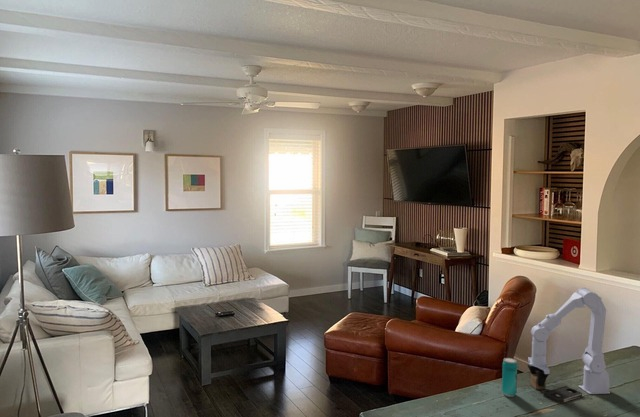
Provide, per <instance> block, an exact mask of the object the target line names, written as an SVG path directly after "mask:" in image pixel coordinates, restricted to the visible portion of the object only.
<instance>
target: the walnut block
mask: <svg viewBox="0 0 640 417" xmlns="http://www.w3.org/2000/svg"><path fill="white" fill-rule="evenodd" d="M546 382H547V380H546V381H545V384H544V386H541V387H539V386H538V378H537V374H531V373H530V386H531V387H532V388H533V389H534V390H546V388H547V387H546V385H547V383H546Z"/></svg>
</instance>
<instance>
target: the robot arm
mask: <svg viewBox="0 0 640 417" xmlns="http://www.w3.org/2000/svg"><path fill="white" fill-rule="evenodd" d="M585 305H586V306H585ZM586 307H587V308H588V309H589V310H590V311H591V312H590V313H591V315H590V323H589V331H588V332H589V333H588V343H587V346H586V347H585V350H584V352H583V354H582V356H581V360H582V363H584V366H583V379H582V382H583V383H582V385H578V387H579V389H582V390H583V391H584V392H586V393H587V394H589V395H600V394H601V395H602V394H605V395H606V394H611V392H610V374H609V372H608V371H607V370H605V369H606V367H607V366H606V365H607V364H606V362H605V355H604V351H603V343H604V332H605V324H606V315H607V308H606V306H605V304H604V303H603V300H602V297H601V296H599V295H598V293H596V292H593V291H591V290H590V289H589V288H587V287H580V288H578V289H577V290H576V291H574V292H573V293H572V295H571V296H570V297H569V299H567V301H565V302H564V304H563V305H561V306H560V307H559V309H557V311H556V312H555V313H549V314H546V315H545V316H544V317H545V318H544V319H542V320H541V321H540V322H538V323H537V324H536V325H534V326H533V327H531V330H529V331H530V334H531V336H532V339H531V340H532V341H531V356H530V357H529V356H528V358H527V362H528V363H527V368H528V370H529V372H530V375H531V374H537V378H538V386H539V387H541V386H544V384H545V381H546V382H547V378H548V376H550V371H551V369H550V368H549V366H548V365H547V340H548V339H549V337H550V334H552V332H553V331H555V329H557V328H558V327H559V326H560V325H561V324H562V320H563V319H564V318H565V317H566V316H567V315H568V314H570V313H571V312H573V311H574V310H575V309H577V308H579V309H580V308H586Z"/></svg>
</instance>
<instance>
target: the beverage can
mask: <svg viewBox="0 0 640 417" xmlns="http://www.w3.org/2000/svg"><path fill="white" fill-rule="evenodd" d="M501 375H502V378H501V380H502V382H501V391H502V394H503V395H504V396H505V397H508V398H509V397H510V398H513V397H516V394H517V387H518V381H517V380H518V362H517V359H514V358H511V357H504V358H503V362H502V373H501Z"/></svg>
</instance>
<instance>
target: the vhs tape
mask: <svg viewBox="0 0 640 417" xmlns="http://www.w3.org/2000/svg"><path fill="white" fill-rule="evenodd" d="M542 396H543V397H545V398H547V399H550V400H552V401H554V402H556V403H559V404H563V403H567V402H569V401H573V400H575V399H579V398H581V397H583V392H581V391H578V390H576V389H573V388H571V387H569V386H567V385H565V386H560V387H557V388H554V389H551V390H546V391H543V395H542Z"/></svg>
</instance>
